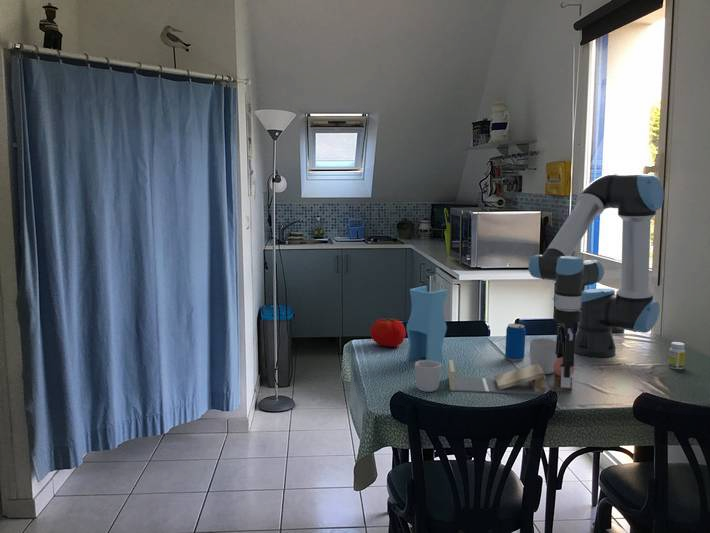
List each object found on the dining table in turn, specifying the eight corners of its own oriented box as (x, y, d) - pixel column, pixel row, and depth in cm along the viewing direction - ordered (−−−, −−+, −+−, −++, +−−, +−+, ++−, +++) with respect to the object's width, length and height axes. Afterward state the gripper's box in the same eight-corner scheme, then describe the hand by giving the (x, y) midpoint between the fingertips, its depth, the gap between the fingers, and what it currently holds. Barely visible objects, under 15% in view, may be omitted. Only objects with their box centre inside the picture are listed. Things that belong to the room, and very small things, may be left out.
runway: (545, 381, 200) (546, 363, 199) (553, 395, 188) (554, 375, 187) (448, 378, 203) (448, 359, 202) (450, 390, 191) (450, 371, 190)
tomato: (411, 344, 241) (411, 317, 239) (395, 352, 231) (395, 324, 229) (380, 339, 248) (381, 312, 246) (364, 346, 238) (364, 319, 236)
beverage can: (524, 362, 220) (526, 328, 218) (505, 361, 222) (506, 327, 220) (523, 356, 227) (525, 323, 225) (504, 355, 228) (506, 322, 226)
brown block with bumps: (568, 386, 196) (569, 372, 195) (572, 391, 191) (573, 377, 190) (553, 386, 196) (554, 372, 195) (556, 391, 192) (557, 376, 191)
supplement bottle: (682, 366, 217) (684, 342, 216) (684, 370, 213) (687, 345, 212) (667, 364, 219) (669, 340, 218) (669, 368, 214) (671, 344, 213)
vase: (445, 360, 221) (447, 289, 218) (428, 366, 214) (430, 293, 211) (422, 354, 228) (424, 285, 224) (405, 360, 221) (407, 289, 217)
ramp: (539, 383, 199) (540, 363, 198) (545, 393, 190) (546, 372, 189) (494, 381, 200) (495, 361, 199) (497, 391, 191) (498, 370, 190)
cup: (410, 382, 199) (410, 357, 197) (435, 381, 199) (436, 356, 198) (416, 394, 188) (417, 368, 187) (443, 393, 189) (444, 367, 188)
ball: (571, 374, 196) (572, 355, 195) (575, 380, 190) (577, 360, 189) (551, 373, 196) (552, 354, 195) (555, 379, 190) (556, 360, 189)
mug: (541, 377, 205) (542, 346, 203) (523, 368, 213) (524, 339, 211) (572, 372, 210) (574, 342, 208) (553, 364, 218) (555, 336, 216)
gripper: (548, 301, 199) (544, 373, 203) (561, 315, 181) (556, 393, 184) (572, 302, 199) (568, 374, 202) (588, 316, 180) (583, 394, 184)
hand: (562, 383), depth 193 cm, fingers closed on ball, 6 cm apart
